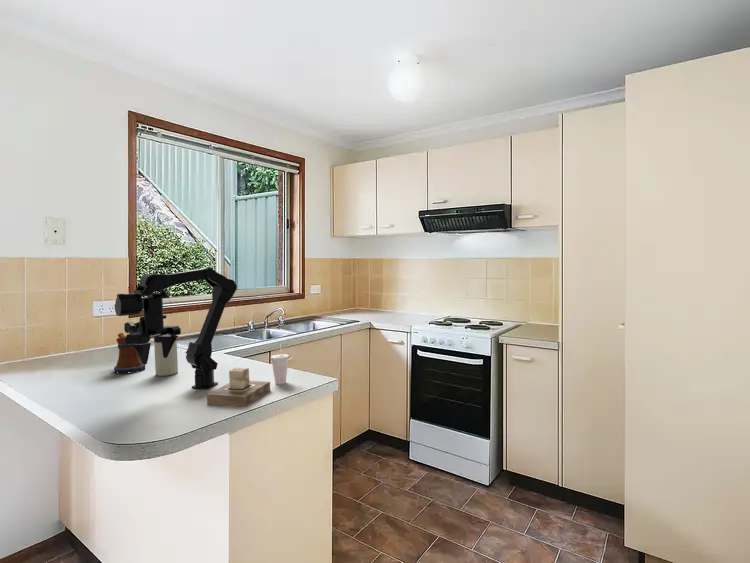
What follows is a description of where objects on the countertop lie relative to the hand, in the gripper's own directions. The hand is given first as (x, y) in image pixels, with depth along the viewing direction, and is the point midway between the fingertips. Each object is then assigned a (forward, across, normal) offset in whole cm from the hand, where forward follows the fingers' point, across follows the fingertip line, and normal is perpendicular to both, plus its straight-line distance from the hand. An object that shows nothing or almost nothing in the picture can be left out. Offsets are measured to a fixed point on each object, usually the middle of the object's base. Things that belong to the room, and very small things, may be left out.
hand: (155, 360), depth 139 cm
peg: (+12, -5, +27) cm, 30 cm away
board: (+12, -5, +27) cm, 30 cm away
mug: (+12, -31, -40) cm, 52 cm away
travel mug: (+12, -27, -18) cm, 35 cm away
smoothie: (+12, -22, +33) cm, 41 cm away
